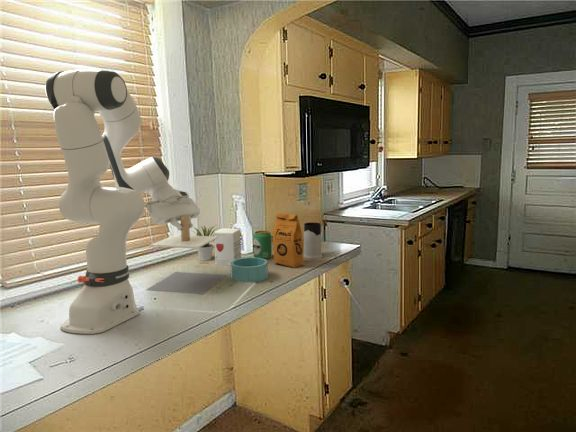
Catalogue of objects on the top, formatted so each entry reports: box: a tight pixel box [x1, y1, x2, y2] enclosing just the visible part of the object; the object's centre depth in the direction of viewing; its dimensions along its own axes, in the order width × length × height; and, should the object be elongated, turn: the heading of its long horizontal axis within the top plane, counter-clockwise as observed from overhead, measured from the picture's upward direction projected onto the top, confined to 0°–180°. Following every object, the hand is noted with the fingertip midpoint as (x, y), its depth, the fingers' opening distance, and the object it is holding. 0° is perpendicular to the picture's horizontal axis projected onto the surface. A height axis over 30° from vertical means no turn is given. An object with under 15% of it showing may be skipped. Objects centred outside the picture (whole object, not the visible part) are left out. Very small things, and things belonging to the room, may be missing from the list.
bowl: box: [230, 256, 269, 283], centre depth 163 cm, size 14×14×6 cm
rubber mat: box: [145, 271, 227, 295], centre depth 156 cm, size 22×22×1 cm
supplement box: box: [213, 227, 242, 267], centre depth 181 cm, size 9×9×15 cm
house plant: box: [192, 224, 219, 262], centre depth 189 cm, size 14×14×16 cm
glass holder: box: [303, 221, 324, 259], centre depth 194 cm, size 9×14×15 cm, turn 147°
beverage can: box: [253, 230, 273, 261], centre depth 190 cm, size 8×8×12 cm
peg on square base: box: [149, 215, 218, 249], centre depth 153 cm, size 18×18×10 cm
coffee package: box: [272, 212, 304, 269], centre depth 178 cm, size 10×12×22 cm
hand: (186, 228), depth 152 cm, fingers closed on peg on square base, 3 cm apart
